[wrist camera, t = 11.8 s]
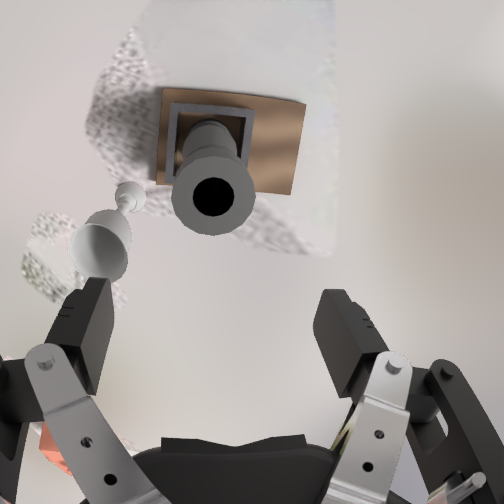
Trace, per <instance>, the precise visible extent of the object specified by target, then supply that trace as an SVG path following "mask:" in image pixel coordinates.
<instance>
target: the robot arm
mask: <svg viewBox="0 0 504 504" xmlns="http://www.w3.org/2000/svg"><path fill="white" fill-rule="evenodd" d="M113 326H114V307H113V300H112V292H111V283H110V279H109V278H101V277H89V278H88V280H87V282H86V284H85V286H84V288H83V290H81V289H75V290H74V291H73V292H72V293H71V294H69V295H68V296H67V297H66V299H65V301H64V303H63V305H62V308H61V309H60V311H59V313H58V316H57V317H56V319H55V321H54V323H53V325H52V327H51V329H50V331H49V333H48V336H47V338H46V340H45V342H44V344H40V345H37V346H35V347H34V348H32V349H31V350H30V351H29V352H28V353H27V355H26V357H25V358H24V359H17V360H7V361H3V359H2V357H1V355H0V504H15V502H16V494H17V486H18V479H19V473H20V467H21V462H22V457H23V451H24V446H25V442H26V437H27V433H28V428H29V424H30V422H38V421H45V422H46V425H47V427H48V429H49V431H50V433H51V435H52V437H53V439H54V441H55V443H56V445H57V447H58V449H59V451H60V453H61V455H62V457H63V459H64V461H65V463H66V464H67V466H68V468H69V470H70V472H71V473H72V475H73V477H74V479H75V480H76V482H77V483H78V485H79V487H80V488H81V490H82V492H83V493H84V495H85V497H86V498H85V499H84V500H83V501H82V502H81V503H80V504H411V503H409V502H408V501H406V500H405V499H403V498H402V497H400V496H398V495H397V494H395V493H394V492H392V491H391V490H389V489H390V486H391V483H392V480H393V477H394V473H395V470H396V467H397V463H398V460H399V456H400V453H401V449H402V445H403V441H404V437H405V434H406V436H407V439H408V441H409V444H410V446H411V449H412V451H413V454H414V456H415V458H416V461H417V464H418V467H419V469H420V472H421V475H422V477H423V480H424V482H425V485H426V488H427V491H428V493H429V498H428V500H427V504H504V445H503V444H502V442H501V440H500V438H499V436H498V434H497V432H496V430H495V429H494V427H493V425H492V423H491V421H490V420H489V418H488V416H487V414H486V412H485V411H484V409H483V407H482V406H481V404H480V402H479V400H478V399H477V397H476V395H475V394H474V392H473V390H472V389H471V387H470V386H469V384H468V382H467V381H466V379H465V377H464V376H463V374H462V372H461V371H460V369H459V368H458V367H457V366H456V365H455V364H453V363H452V362H450V361H447V360H444V359H439V360H436V361H434V362H433V363H432V365H431V367H430V368H429V369H424V368H416V367H412V366H411V363H410V362H409V361H408V359H406V358H405V357H404V356H403V355H401V354H398V353H396V352H392V351H390V350H389V349H388V347H387V346H386V344H385V342H384V340H383V339H382V337H381V335H380V334H379V332H378V331H377V329H376V328H375V327H374V324H373V322H372V321H371V320H370V318H369V316H368V314H367V313H366V311H365V310H364V309H363V308H362V307H361V306H359V305H358V304H357V303H356V302H352V301H351V300H350V298H349V296H348V295H347V293H346V291H345V290H343V289H325V290H324V291H323V293H322V296H321V299H320V302H319V305H318V308H317V312H316V315H315V318H314V322H313V331H314V336H315V338H316V341H317V343H318V346H319V348H320V350H321V353H322V356H323V358H324V361H325V363H326V366H327V368H328V371H329V373H330V376H331V378H332V381H333V383H334V386H335V388H336V391H337V393H338V396H339V398H347V397H351V399H352V403H351V405H350V407H349V409H348V411H347V414H346V416H345V418H344V420H343V423H342V425H341V427H340V430H339V432H338V434H337V436H336V438H335V440H334V442H333V444H332V446H331V448H330V449H327V448H324V447H321V446H318V445H313V444H307V443H306V439H305V435H304V434H302V435H293V436H280V437H270V438H267V439H264V440H260V441H256V442H253V443H250V444H245V445H242V446H238V447H233V446H228V445H222V444H217V443H213V442H208V441H204V440H199V439H180V438H161V447H157V448H152V449H148V450H145V451H143V452H140V453H138V454H136V455H134V456H132V457H131V456H130V454H129V453H128V452H127V450H126V449H125V447H124V446H123V445H122V443H121V442H120V440H119V439H118V438H117V436H116V435H115V433H114V432H113V430H112V429H111V427H110V426H109V424H108V423H107V421H106V420H105V418H104V417H103V415H102V413H101V412H100V410H99V409H98V407H97V405H96V404H95V402H94V401H93V399H92V398H91V396H88V395H95V396H96V392H97V388H98V384H99V380H100V375H101V371H102V367H103V363H104V359H105V355H106V351H107V348H108V344H109V341H110V337H111V334H112V330H113ZM87 394H88V395H87ZM439 411H441V413H442V415H443V417H444V419H445V421H446V423H447V425H448V435H447V437H446V436H445V433H444V431H443V429H442V427H441V425H440V423H439V421H438V419H437V417H436V415H437V413H438V412H439Z"/></svg>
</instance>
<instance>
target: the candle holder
mask: <svg viewBox="0 0 504 504" xmlns="http://www.w3.org/2000/svg"><path fill="white" fill-rule="evenodd" d="M182 155H183V160H184V161H183V163H182V164H181V166H180V167H179V169H178V170H177V173H176V177H175V180H174V184H173V190H172V196H171V200H172V204H173V208H174V212H175V214H176V215H177V217H178V218H179V219H180V220H181V222H182V223H183V224H184V226H186V227H188V228H190V229H191V230H193V231H195V232H197V233H199V234H206V235H213V236H215V235H220V234H225V233H229V232H231V231H232V230H234V229H236V228H237V227H239V226H241V225H242V224H243V223H244V222H245V220H246V219H247V218H248V216H249V215H250V214H251V212H252V210H253V206H254V202H255V198H256V195H255V189H254V182H253V180H252V178H251V176H250V174H249V172H248V170H247V169H246V167H245V165H244V164H243V162H242V161H241V159H240V158H239V157H237V149H236V143H235V141H234V140H233V138H232V136H231V133H230V132H229V130H228V129H227V127H226V125H225V124H223V123H222V122H220V121H219V120H217V119H211V118H207V119H202V120H199V121H198V122H196V123H195V124H193V125H192V127H191V128H190V130H189V131H188V133H187V136H186V141H185V142H184V146H183V151H182Z"/></svg>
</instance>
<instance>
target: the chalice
mask: <svg viewBox="0 0 504 504" xmlns="http://www.w3.org/2000/svg"><path fill="white" fill-rule="evenodd" d="M115 200H116V203H117V206H118V209H117V210H109V209H108V210H103V211H99V212H96V213H94V214H93V215H92V216H90V218H89V219H88V221H87V222H86V223H85V224H84V225H81V226H79V227H78V228H76V229H75V230H74V231H73V232H72V234H71V236H70V238H69V242H68V252H69V257H70V259H71V262H72V264H73V266H74V267H75V268H76V269H77V271H78V272H79V273H80V274H81V275H83V276H84V277H85V278H87V279H88V278H89V277H101V278H109V279H110V283H112V282H115V281H116V280H118V279H120V278H121V277H122V275H123V274H124V272H125V271H126V268H127V264H128V258H127V253H128V251H129V248H130V245H131V242H132V234H131V230H130V226H129V223H128V221H127V219H126V218H125V217H126V214H128V213H135V212H138V211H139V210H141V209H142V208H143V207H144V205H145V203H146V194H145V191H144V189H143V188H142V187H141V186H140V185H139V184H137V183H134V182H126V183H123V184H121V185H120V186H119V187H118V189H117V190H116V193H115Z"/></svg>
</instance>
